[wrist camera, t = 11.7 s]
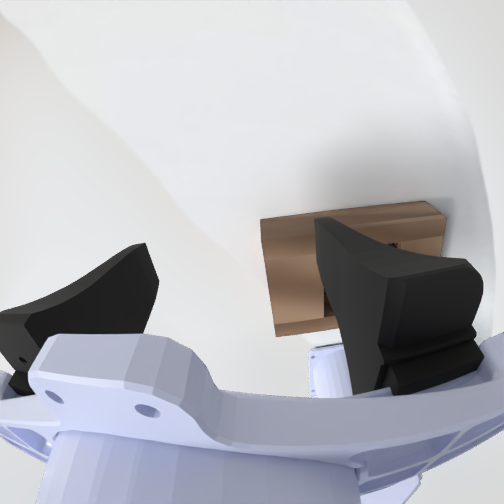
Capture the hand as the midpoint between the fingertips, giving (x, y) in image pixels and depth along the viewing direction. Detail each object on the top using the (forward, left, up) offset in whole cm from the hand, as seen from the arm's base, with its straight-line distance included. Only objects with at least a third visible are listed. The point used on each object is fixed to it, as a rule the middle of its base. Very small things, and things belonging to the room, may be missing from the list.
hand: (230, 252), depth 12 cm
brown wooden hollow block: (-8, -8, -10) cm, 15 cm away
